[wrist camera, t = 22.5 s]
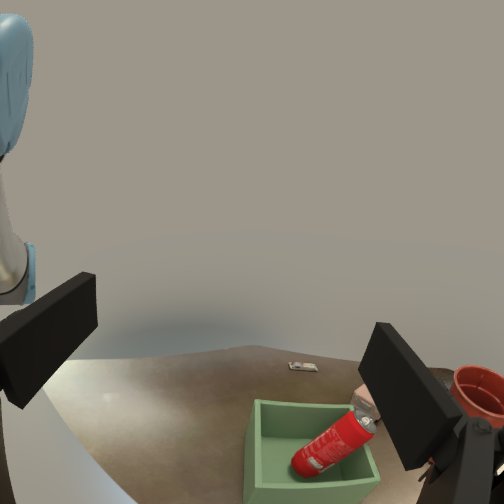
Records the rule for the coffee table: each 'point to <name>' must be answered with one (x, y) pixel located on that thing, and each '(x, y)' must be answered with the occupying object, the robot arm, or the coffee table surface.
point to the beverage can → (333, 444)
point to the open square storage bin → (284, 447)
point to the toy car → (365, 402)
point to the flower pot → (480, 393)
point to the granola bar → (302, 366)
